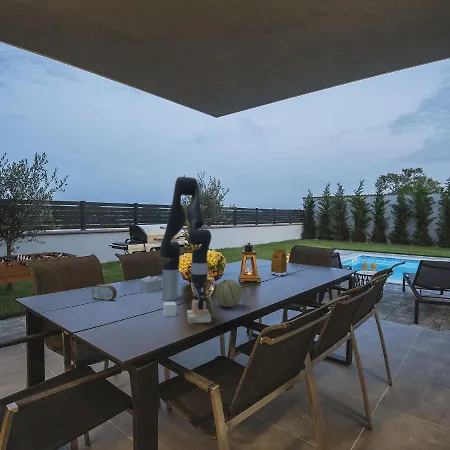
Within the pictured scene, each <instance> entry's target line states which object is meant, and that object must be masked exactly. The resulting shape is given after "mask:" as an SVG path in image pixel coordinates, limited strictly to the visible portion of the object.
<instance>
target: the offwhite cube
mask: <svg viewBox="0 0 450 450" xmlns="http://www.w3.org/2000/svg"><path fill="white" fill-rule="evenodd" d="M163 316H164V317H165V316H166V317H177V303H176V302H175V301H166V302H163Z"/></svg>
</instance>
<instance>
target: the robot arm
mask: <svg viewBox="0 0 450 450" xmlns="http://www.w3.org/2000/svg"><path fill="white" fill-rule="evenodd" d="M182 196H189V197H190V196H191V198H192V199H191V202H190V204H189V206H188V207H187V211H185V209H184V206H183V204H182V200H181V199H182V198H181V197H182ZM200 201H201V200H200V189H199V183H198V180H197V179H196V178H194V177H187V176H178V177H177V178H176V181H175V184H174V190H173V196H172V202H171V206H170V209H169V213H168V217H167V223H166V228H165V232H164V234H163V237H162V239H161V243H160V248H159V254H160V256H161V258H171V259H170V260H169V261H168V262H165V263H164V264H163V265H162V300H165V301H174V300H178V299H179V289H180V288H179V282H180V281H179V279H180V278H179V277H180V272H179V271H180V270H179V269H180V258H181V257H180V256H181V246H180V242H179V241H172V240H173V239H174V238H175V236H177V235H178V234H179V233H180V232H181V231H182V230H183V228H184V226H185V223H186V219H187V221H188V226H189V227H188V237H187V239H188V242H189V243H190V244H191V245H193V246H195V245H196V246H197V245H201V247H200V248H197V249H193V250H192V253H191V267H190V268H191V269H190V271H191V272H190V274H191V275H190V282H191V283H192V284H193V294H194V295H193V296H194V300H198V309H199V310H203V301H205V302H206V288H205V286H204V284H207V282H208V252H209V248H210V244H211V242H212V233H211V231H210V230H209V229H206V228H205V229H204V228H202V227H204V223H205V221H204V218H203V213H202V211H201V202H200Z"/></svg>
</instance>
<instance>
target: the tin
mask: <svg viewBox="0 0 450 450" xmlns="http://www.w3.org/2000/svg"><path fill="white" fill-rule="evenodd" d="M117 294H118V293H117V289H116V287H114V286H113V285H111V284H103V283H98V284H96V285H93V287H92V288H91V296H92V297H93V298H94V299H95V300H99V301H100V300H101V301H112V300H114V299H115V298H116V297H117Z"/></svg>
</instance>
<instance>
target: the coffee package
mask: <svg viewBox="0 0 450 450" xmlns="http://www.w3.org/2000/svg"><path fill="white" fill-rule="evenodd" d="M287 262H288V257H287V254H286V249H284V248H283V249H279V248H276V247H275V248H274V250H273V254H272V257H271V263H270V264H271V265H270V273H271V272H275V273H284V272H286V273H287V272H288V271H287V269H288V268H287V267H288V266H287V264H288V263H287Z"/></svg>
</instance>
